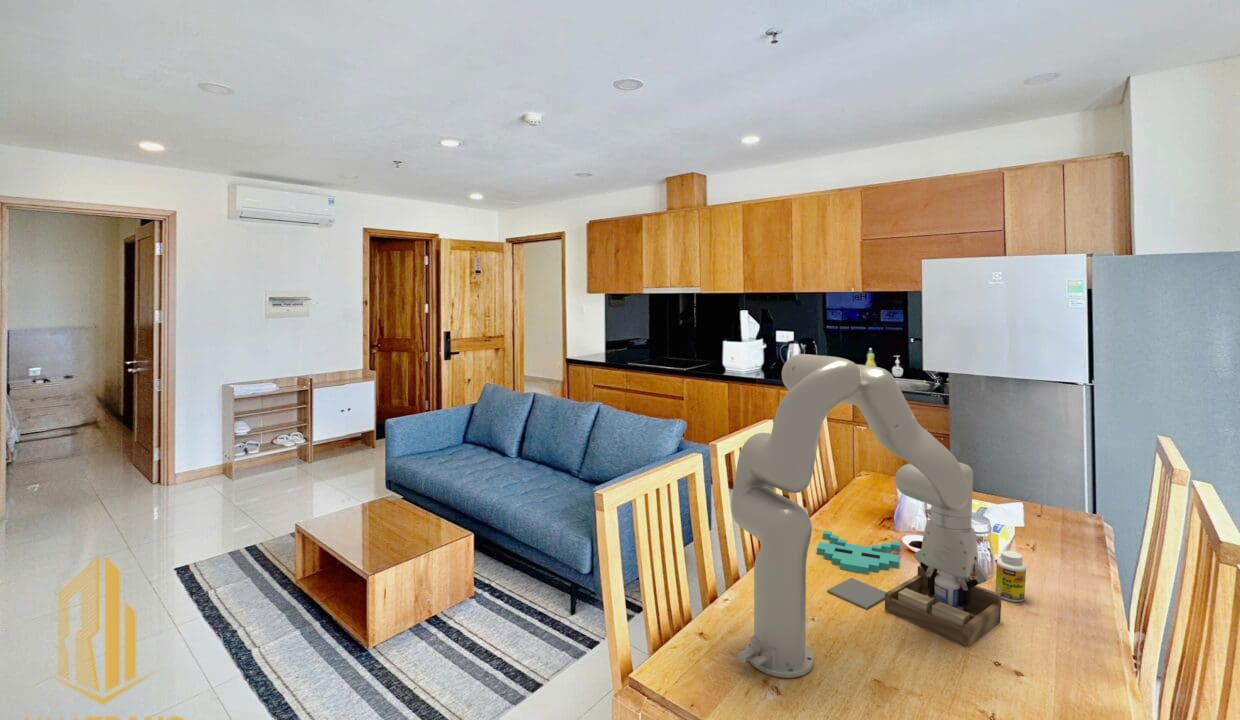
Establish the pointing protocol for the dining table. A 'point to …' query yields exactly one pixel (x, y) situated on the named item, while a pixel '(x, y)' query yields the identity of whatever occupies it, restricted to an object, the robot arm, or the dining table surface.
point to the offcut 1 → (916, 600)
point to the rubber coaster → (858, 593)
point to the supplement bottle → (1010, 576)
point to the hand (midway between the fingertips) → (948, 598)
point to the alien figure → (858, 555)
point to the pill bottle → (947, 589)
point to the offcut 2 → (950, 614)
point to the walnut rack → (980, 604)
